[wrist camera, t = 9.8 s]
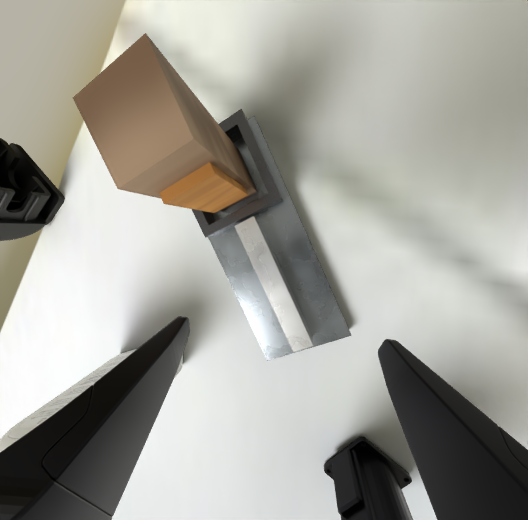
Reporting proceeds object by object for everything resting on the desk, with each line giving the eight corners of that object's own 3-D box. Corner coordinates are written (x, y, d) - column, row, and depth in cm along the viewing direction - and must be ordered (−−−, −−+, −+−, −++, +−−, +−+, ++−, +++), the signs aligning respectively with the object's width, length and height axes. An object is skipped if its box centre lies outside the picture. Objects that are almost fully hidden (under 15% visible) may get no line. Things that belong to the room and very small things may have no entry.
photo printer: (127, 380, 26) (-20, 508, 14) (114, 352, 26) (-48, 459, 14) (189, 367, 24) (77, 507, 12) (176, 336, 23) (47, 448, 11)
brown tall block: (260, 198, 18) (200, 153, 7) (224, 217, 19) (124, 202, 8) (240, 151, 18) (145, 33, 7) (204, 173, 19) (73, 97, 8)
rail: (349, 330, 19) (357, 348, 16) (269, 354, 21) (263, 374, 19) (256, 121, 18) (248, 101, 15) (180, 170, 20) (160, 160, 17)
